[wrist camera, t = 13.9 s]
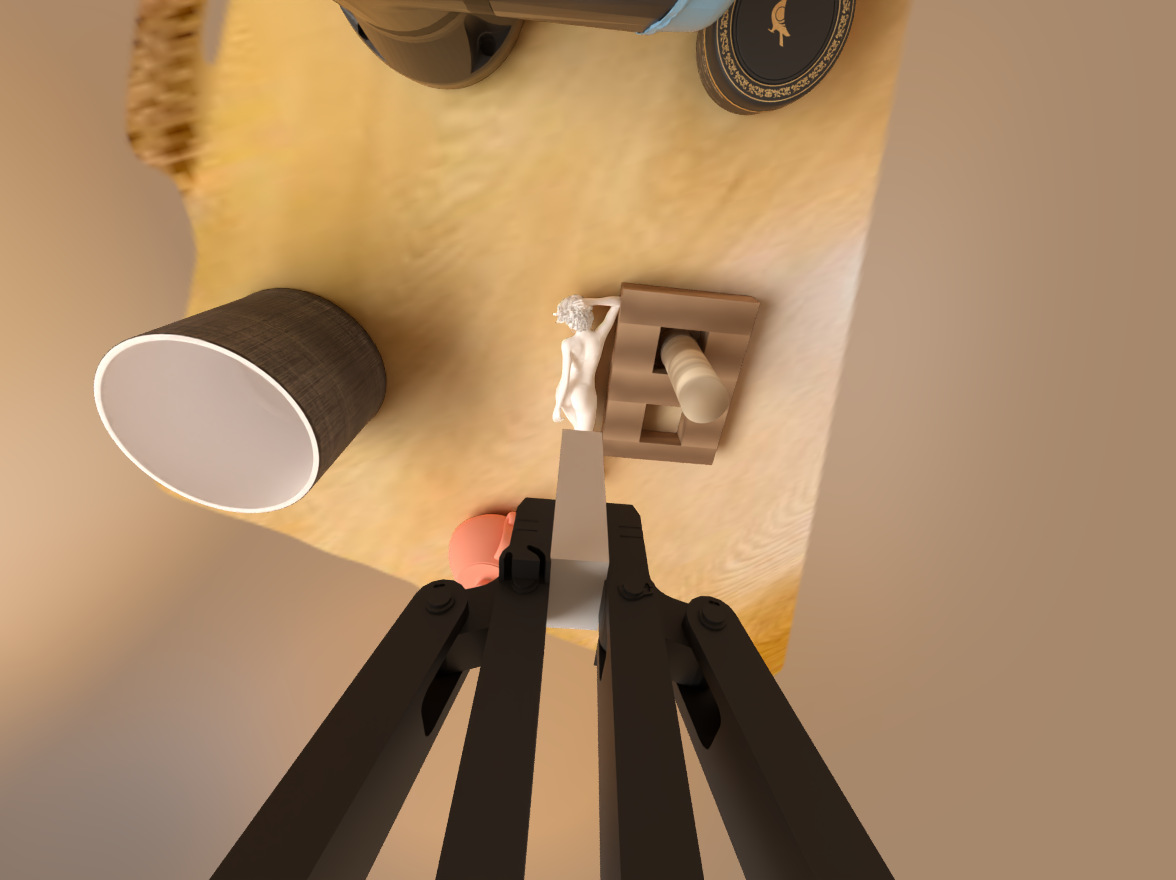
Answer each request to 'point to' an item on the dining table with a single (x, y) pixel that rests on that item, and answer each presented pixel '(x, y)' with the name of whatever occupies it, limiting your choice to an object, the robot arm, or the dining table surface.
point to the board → (649, 383)
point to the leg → (692, 376)
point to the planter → (242, 398)
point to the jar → (771, 51)
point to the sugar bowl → (479, 548)
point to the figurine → (581, 358)
